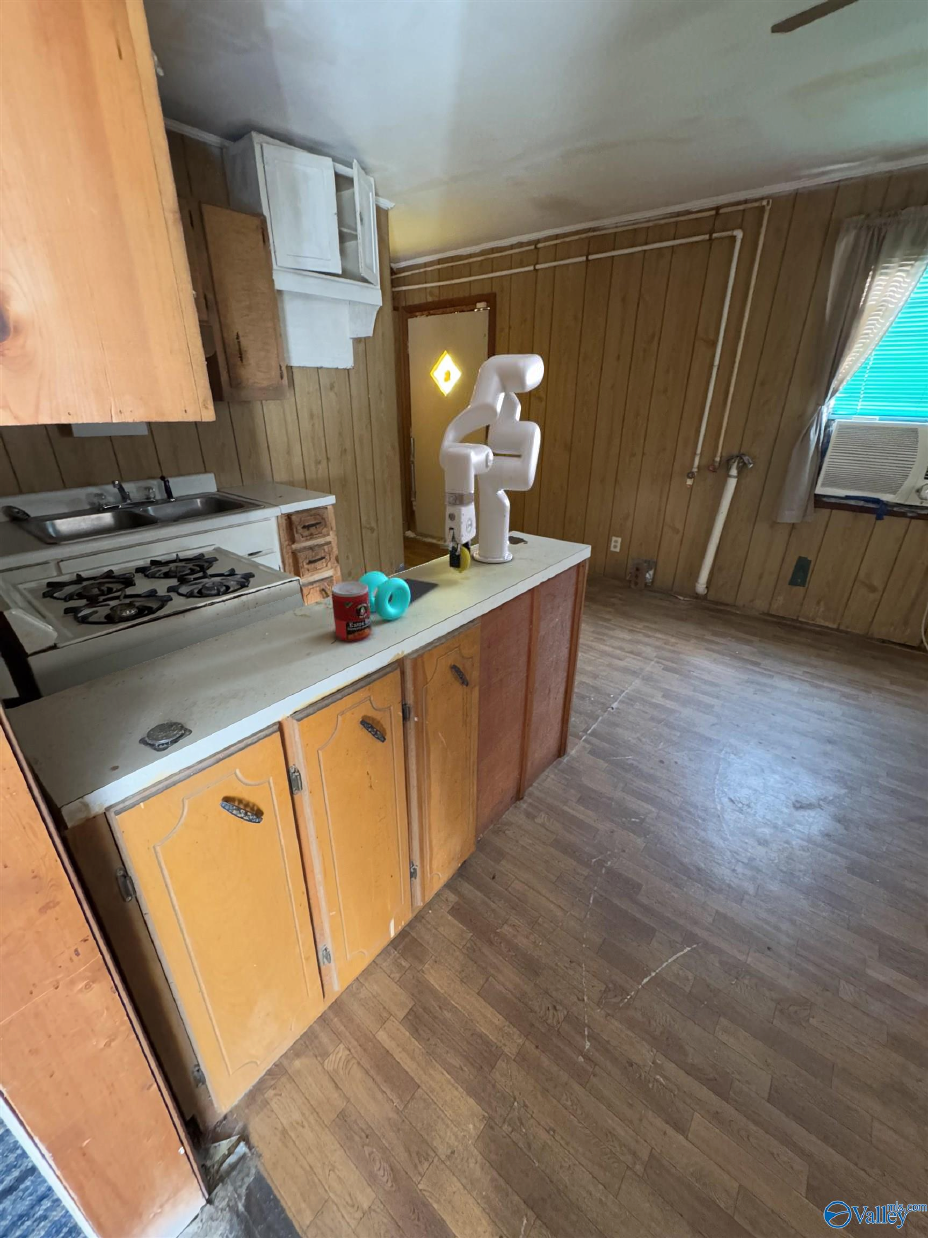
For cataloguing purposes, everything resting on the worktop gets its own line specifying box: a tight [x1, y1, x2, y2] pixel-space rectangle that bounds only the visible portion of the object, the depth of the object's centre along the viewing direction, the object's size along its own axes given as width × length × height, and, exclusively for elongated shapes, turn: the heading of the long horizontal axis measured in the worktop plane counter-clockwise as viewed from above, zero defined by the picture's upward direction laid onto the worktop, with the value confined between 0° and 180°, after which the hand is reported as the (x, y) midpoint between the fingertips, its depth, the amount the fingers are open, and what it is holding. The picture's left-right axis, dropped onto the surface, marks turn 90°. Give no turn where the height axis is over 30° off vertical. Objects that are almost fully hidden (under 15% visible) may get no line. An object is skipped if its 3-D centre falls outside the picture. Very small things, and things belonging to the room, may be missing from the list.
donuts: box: [358, 570, 410, 621], centre depth 118 cm, size 10×10×10 cm
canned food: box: [330, 580, 372, 642], centre depth 108 cm, size 8×8×11 cm
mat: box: [388, 578, 439, 605], centre depth 134 cm, size 18×10×1 cm, turn 155°
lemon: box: [451, 544, 471, 574], centre depth 138 cm, size 6×6×8 cm
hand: (460, 563), depth 138 cm, fingers closed on lemon, 5 cm apart
